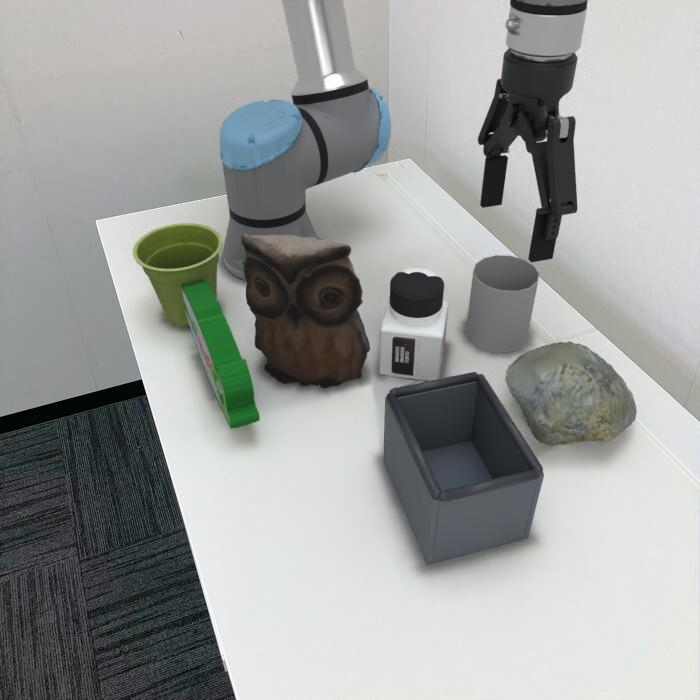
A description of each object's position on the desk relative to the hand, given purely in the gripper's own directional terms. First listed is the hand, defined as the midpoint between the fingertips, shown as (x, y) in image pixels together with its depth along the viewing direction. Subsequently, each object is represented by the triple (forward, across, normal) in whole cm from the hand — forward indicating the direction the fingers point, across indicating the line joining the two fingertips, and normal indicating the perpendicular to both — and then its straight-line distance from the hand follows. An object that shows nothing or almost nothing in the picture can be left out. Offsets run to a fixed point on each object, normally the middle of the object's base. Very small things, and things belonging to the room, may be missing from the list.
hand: (514, 230), depth 87 cm
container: (+16, +2, -13) cm, 21 cm away
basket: (+11, +24, -22) cm, 35 cm away
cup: (+16, 0, 0) cm, 17 cm away
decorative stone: (+17, +17, +1) cm, 24 cm away
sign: (+16, -2, -38) cm, 41 cm away
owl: (+16, -2, -25) cm, 30 cm away
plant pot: (+16, -17, -40) cm, 47 cm away
